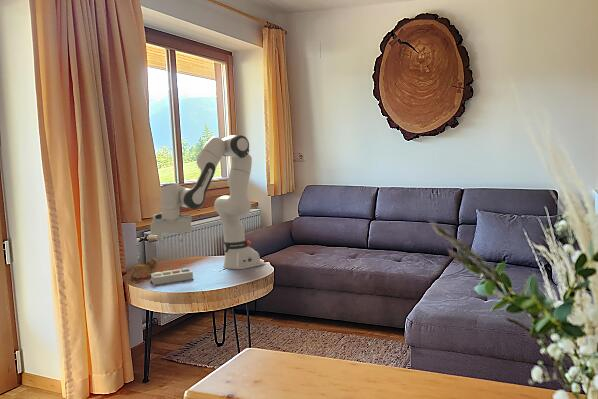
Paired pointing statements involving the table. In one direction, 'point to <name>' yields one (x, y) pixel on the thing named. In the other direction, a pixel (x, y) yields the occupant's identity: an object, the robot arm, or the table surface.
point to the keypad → (172, 278)
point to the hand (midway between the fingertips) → (171, 242)
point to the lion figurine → (145, 267)
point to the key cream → (157, 274)
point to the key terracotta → (176, 271)
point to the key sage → (166, 272)
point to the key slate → (184, 269)
